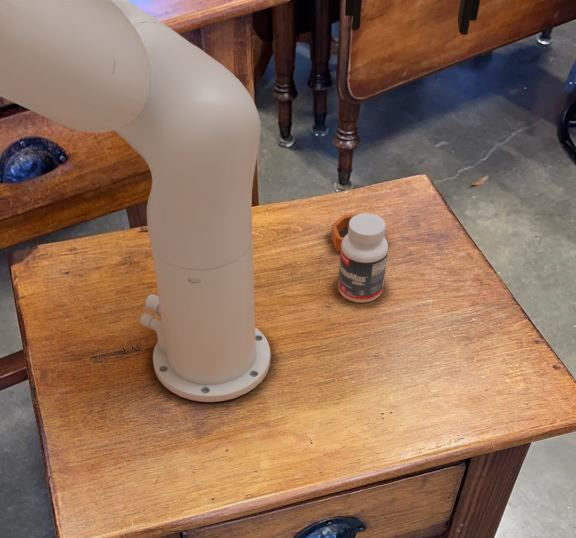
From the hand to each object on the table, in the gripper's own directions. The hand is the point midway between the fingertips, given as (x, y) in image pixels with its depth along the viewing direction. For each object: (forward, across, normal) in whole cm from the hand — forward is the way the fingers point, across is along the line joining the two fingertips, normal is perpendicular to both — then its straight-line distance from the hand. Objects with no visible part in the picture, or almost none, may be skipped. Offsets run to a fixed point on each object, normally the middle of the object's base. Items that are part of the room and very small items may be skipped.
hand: (408, 25), depth 75 cm
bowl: (+28, +3, -7) cm, 29 cm away
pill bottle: (+28, +2, +2) cm, 29 cm away
